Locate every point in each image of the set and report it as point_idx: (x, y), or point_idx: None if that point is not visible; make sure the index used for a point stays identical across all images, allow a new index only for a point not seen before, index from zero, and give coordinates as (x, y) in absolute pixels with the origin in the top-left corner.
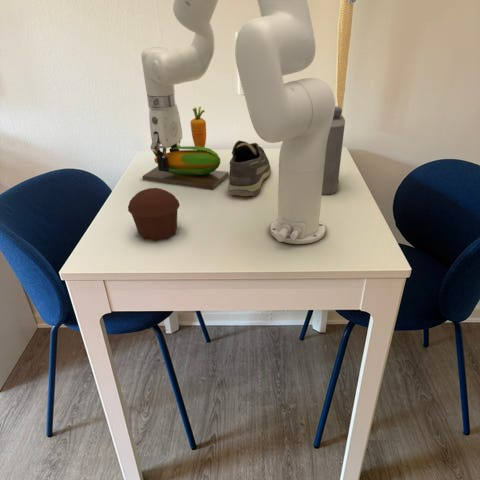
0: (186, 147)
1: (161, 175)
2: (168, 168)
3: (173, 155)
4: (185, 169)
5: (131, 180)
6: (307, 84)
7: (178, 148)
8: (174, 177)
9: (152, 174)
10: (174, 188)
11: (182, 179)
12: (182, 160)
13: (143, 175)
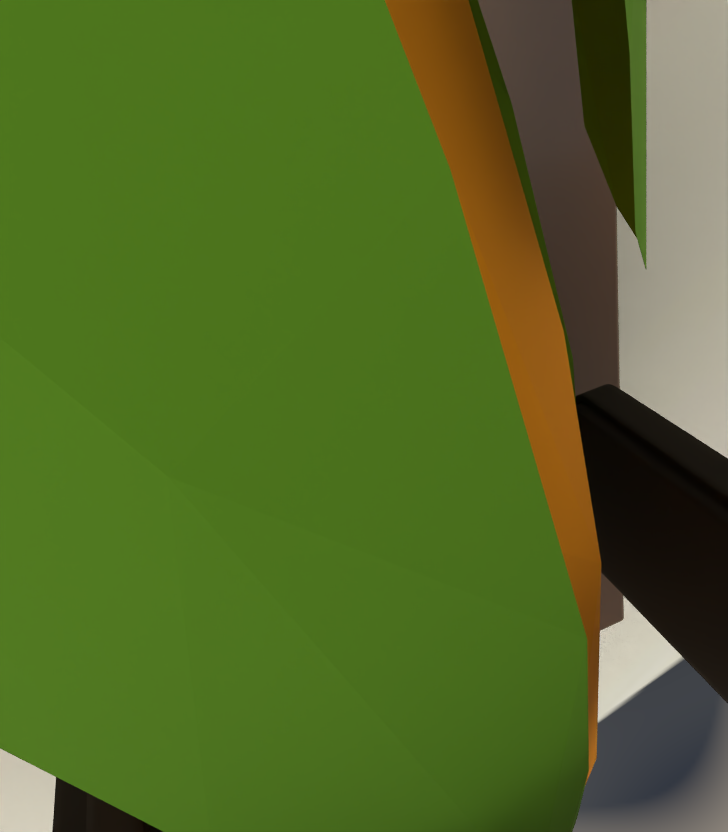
0: (375, 494)
1: None
2: (617, 406)
3: (590, 574)
4: (485, 56)
5: (639, 646)
6: None
7: (551, 705)
8: None
9: None
10: (705, 23)
11: (534, 39)
12: (613, 173)
13: (610, 623)
